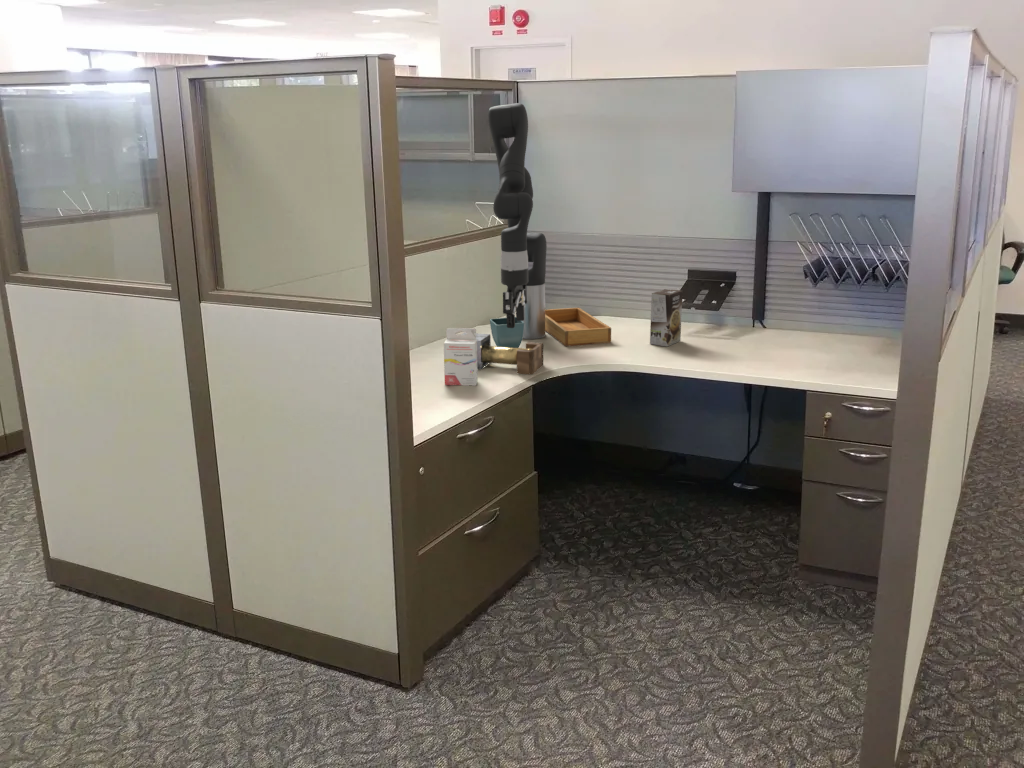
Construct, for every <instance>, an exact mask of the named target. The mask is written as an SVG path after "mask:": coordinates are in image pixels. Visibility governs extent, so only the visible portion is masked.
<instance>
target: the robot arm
mask: <svg viewBox="0 0 1024 768" xmlns="http://www.w3.org/2000/svg"><path fill="white" fill-rule="evenodd" d="M487 119H488V126H489V130H490V135H491V139H492V144H493V147H494V151H495V156H496V160H497V161H496V162H497V167H498V173H499V175H498V176H499V185H498V189H497V191H496V195H495V197H494V201H493V213H494V215H495V217H497V218H498V219H500V220H507V228H504V229H502V230H501V232H500V233H501V234H500V248H501V249H500V250H501V251H500V252H501V253H500V254H501V255H500V281H501V282H500V283H501V284H502V285H504V286H506V287H507V288H506V291H503V292H502V314H504V315H505V316H506V317H505V318H507V328H514V327H515V317H516V320H517V321H523V322H524V330H523V338H522V340H523V339H525V340H526V339H527V340H537V339H542V338H545V337H546V331H545V310H546V274H547V273H546V272H547V271H546V269H547V264H546V262H547V247H548V245H547V238H546V236H545V234H543V232H528V227H529V223H530V218H531V216H532V212H533V208H534V201H533V197H534V190H533V184H532V176H531V173H530V171H529V170H528V169H527V168H526V167H525V161H526V160H525V159H526V151H527V146H528V145H527V144H528V135H529V134H528V133H529V118H528V113H527V110H526V107H525V105H524V104H523V103H521V102H517V103H516V102H515V103H508V104H503V105H501V104H499V105H495V106H491V107H489V110H488V112H487ZM510 138H511V139H512V138H514V139H513V141H512V143H511V144H510V146H508V144H507V143H506V139H510ZM529 263H532V267H531V268H530V269H529Z"/></svg>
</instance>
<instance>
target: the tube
mask: <svg viewBox="0 0 1024 768" xmlns="http://www.w3.org/2000/svg"><path fill="white" fill-rule="evenodd" d="M519 349H523V350H532V348H528V349H526V347H524V348H523V347H519V348H512V347H497V346H495V345H494V346H493V345H491V346H483V345H482V362H485V363H490V364H500V365H501V364H502V365H514V366H517V350H519Z"/></svg>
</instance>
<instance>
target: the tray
mask: <svg viewBox="0 0 1024 768" xmlns="http://www.w3.org/2000/svg"><path fill="white" fill-rule="evenodd" d="M545 332H547V333H548V334H549V335H550V336H552V337H553V338H554V339H555V340H557V341H558V342H559V343H561V344H562V345H564V347H575V346H576V347H577V346H584V345H585V346H586V345H600V344H610V343H612V327H610V326H609V325H607V324H606V323H604V322H603V321H601V320H599V319H598V318H596V317H594V316H593V315H591V313H588V312H587V311H585V310H584V309H582V308H581V307H568V308H567V307H565V308H551V309H545Z"/></svg>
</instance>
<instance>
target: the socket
mask: <svg viewBox="0 0 1024 768" xmlns="http://www.w3.org/2000/svg"><path fill="white" fill-rule="evenodd" d="M525 348H526V349H528V348H532V350H523V349H519V350H517V365H516V374H517V375H518V374H519V375H527V376H528V375H530V376H531V375H534V374H535V373H536V372H538V370H540V369H541V368H542V367H543V366H544V342H533V341H532V342H531V341H530V342H529V341H528V342H526V343H525Z"/></svg>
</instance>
